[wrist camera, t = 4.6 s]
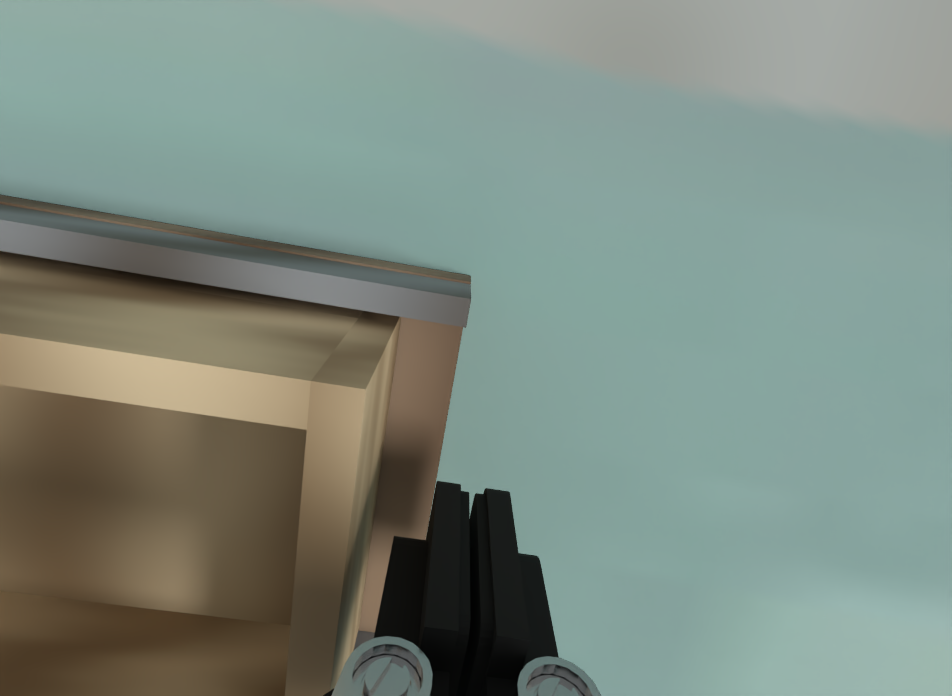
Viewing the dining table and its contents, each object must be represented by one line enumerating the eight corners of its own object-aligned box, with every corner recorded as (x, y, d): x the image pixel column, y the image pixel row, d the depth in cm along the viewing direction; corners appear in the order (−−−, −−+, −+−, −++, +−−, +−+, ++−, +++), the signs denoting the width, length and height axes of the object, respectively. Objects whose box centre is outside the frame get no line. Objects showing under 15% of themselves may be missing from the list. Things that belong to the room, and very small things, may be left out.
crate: (401, 312, 12) (365, 389, 8) (359, 625, 15) (315, 809, 10) (-191, 214, 11) (-612, 239, 7) (-113, 568, 14) (-374, 744, 10)
